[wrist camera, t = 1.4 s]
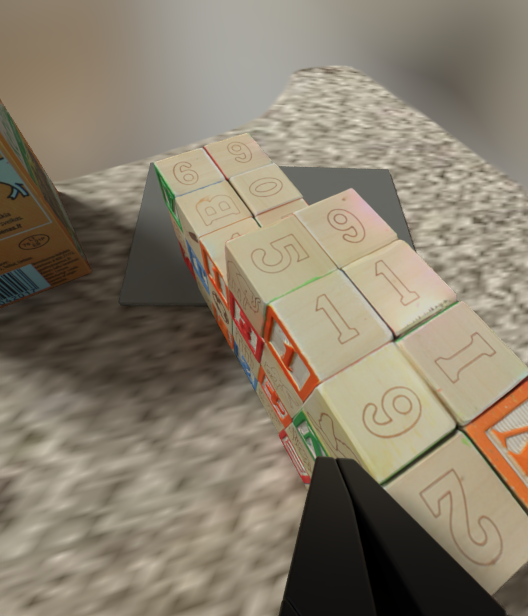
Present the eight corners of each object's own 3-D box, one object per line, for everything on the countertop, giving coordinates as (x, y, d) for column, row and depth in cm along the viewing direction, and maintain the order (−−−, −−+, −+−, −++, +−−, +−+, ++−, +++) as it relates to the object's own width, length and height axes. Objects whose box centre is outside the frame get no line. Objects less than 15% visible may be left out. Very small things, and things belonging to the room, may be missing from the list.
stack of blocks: (180, 260, 26) (134, 103, 15) (249, 232, 28) (251, 74, 17) (333, 540, 18) (472, 635, 7) (417, 477, 20) (634, 474, 9)
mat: (429, 306, 26) (432, 304, 25) (120, 305, 24) (118, 302, 24) (386, 172, 34) (388, 169, 33) (151, 166, 32) (150, 162, 32)
